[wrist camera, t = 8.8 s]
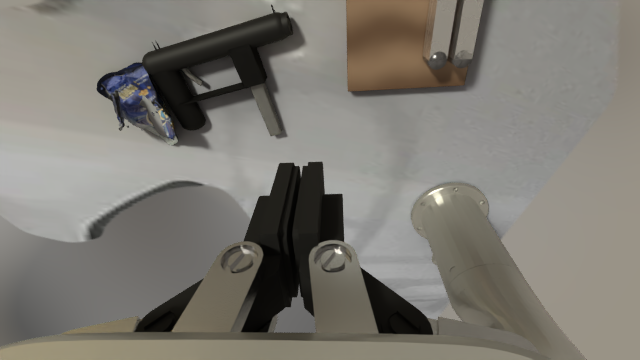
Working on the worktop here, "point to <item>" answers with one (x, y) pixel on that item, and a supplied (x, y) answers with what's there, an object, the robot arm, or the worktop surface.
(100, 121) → the worktop surface
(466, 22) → the arm
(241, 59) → the black submachine gun
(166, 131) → the snack package
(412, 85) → the cutting board
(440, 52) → the tongs arm
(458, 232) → the robot arm
